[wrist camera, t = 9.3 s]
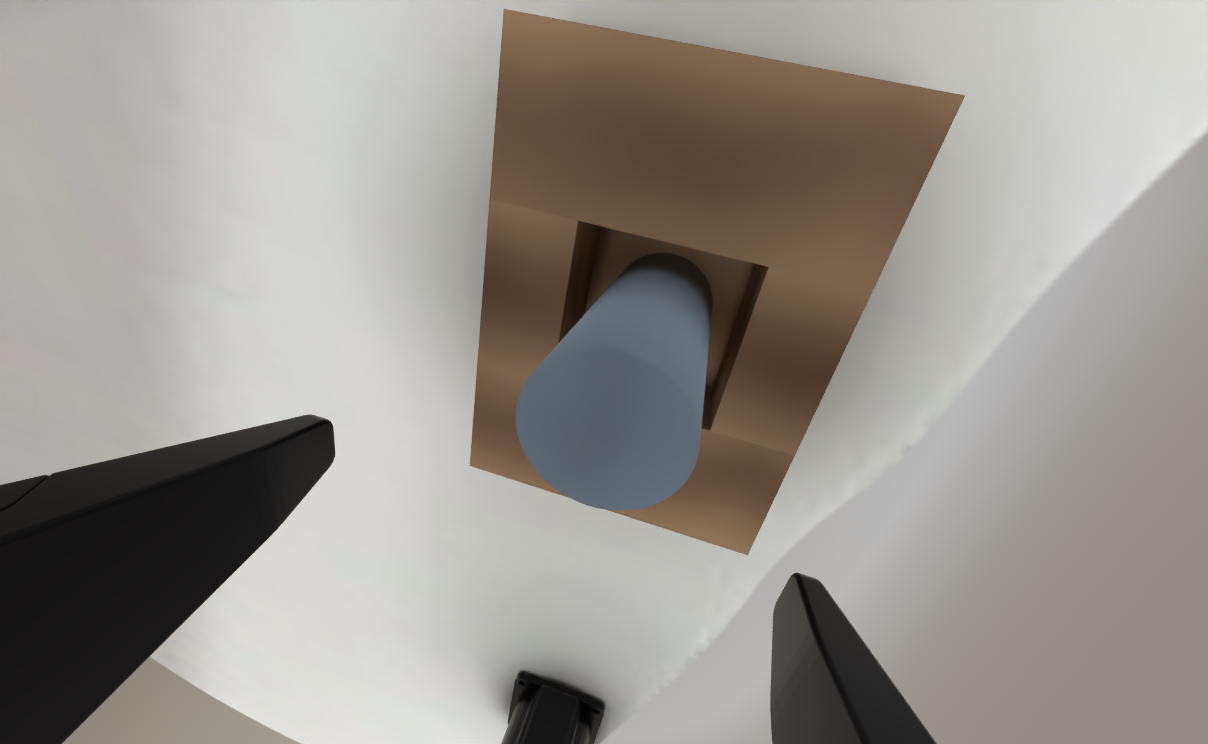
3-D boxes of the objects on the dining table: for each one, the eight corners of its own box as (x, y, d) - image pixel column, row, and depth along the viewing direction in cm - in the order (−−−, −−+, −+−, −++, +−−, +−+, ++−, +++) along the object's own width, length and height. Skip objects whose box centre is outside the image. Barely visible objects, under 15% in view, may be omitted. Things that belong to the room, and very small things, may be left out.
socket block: (743, 484, 22) (747, 555, 18) (512, 414, 24) (469, 465, 20) (902, 111, 15) (965, 95, 11) (556, 43, 17) (504, 9, 13)
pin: (696, 360, 19) (671, 532, 11) (604, 335, 20) (507, 479, 11) (725, 266, 18) (725, 379, 9) (624, 241, 18) (526, 324, 9)
